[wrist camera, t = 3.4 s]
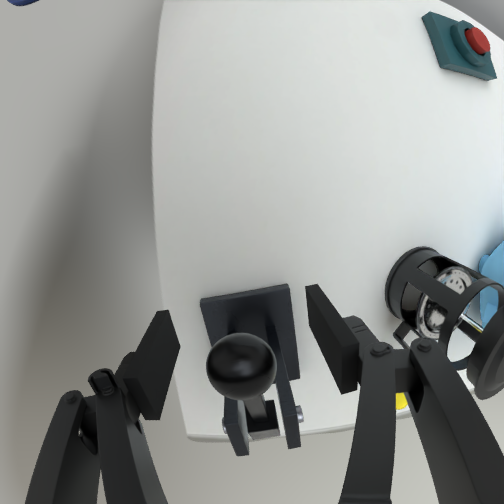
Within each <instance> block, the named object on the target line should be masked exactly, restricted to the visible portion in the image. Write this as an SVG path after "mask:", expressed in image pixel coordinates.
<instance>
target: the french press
mask: <svg viewBox="0 0 504 504" xmlns="http://www.w3.org/2000/svg"><path fill="white" fill-rule="evenodd" d="M428 260H432V261H433V262H434V263H435V265H436V267H437V270H438V273H437V274H436V275H435V276H433V277H431V276H430V275H428V274H426V273H424V272H423V271H421V270H419V269H418V268H419V267H420V266H421V265H422V264H423V263H425V262H426V261H428ZM471 277H473V278H475V279H477V281H475V282H472V279H471ZM407 283H410V284H411V285H413V286H414V287H416V288H417V289H419V290H420V291H421V292H422V293H421V296H420V298H419V301H418V304H417V309H416V310H414V311H407V310H404V309H402V297H403V294H404V290H405V288H406V285H407ZM488 286H490V287H492V288H494V289H495V290H497V291H498V308H497V312H496V313H495V314H494V315H493V316H492V318H491V319H490V321H489V322H488V323H487V325H486V326H485V328H483V327H481V326H480V325H479V324H477V323H476V322H475V321H473V320H472V319H471V318H469V317H468V316H466V313H467V311H468V309H469V306H470V303H471V300H472V299H473V298H474V297H475V296H476V295H477V294H478V293H479V292H480V291H481V290H482V289H484V288H486V287H488ZM385 299H386V303H387V307H388V308H389V310H390V312H391V313H392V314H393V315H394V316H395V317H397V318H399V319H401V320H402V321H403V322H402V323H401V324H400V325H399V327H398V328H397V329H396V330H395V332H394V333H393V336H394V338H395V339H396V340H397V341H398V342H399V343H400V344H401V345H402V347H403V348H404V349H408V348H410V347H409V346H408V345H407V344H406V342H405V341H404V340H403V339H404V337H405V336H406V335H407V334H408V332H409V331H410V330H412V331H413V332H414V333H415V334H416V335H418V336H419V337H428V338H432V339H434V340H438V344H439V345H440V347H441V348H442V350H443V351H444V353H445V354H446V356H447V349H448V344H449V340H450V337H451V334H452V332H453V331H454V330H455V329H456V328H458V329H460V330H461V331H462V332H463V333H465V334H466V335H467V336H468V337H470V338H471V339H472V340H473V341H474V342H476V343H475V346H474V348H473V350H472V352H471V354H470V355H469V356H467V357H465V358H464V359H462V360H459V361H456V362H451V363H452V365H453V366H454V368H455V369H456V370H458V371H459V370H463V369H466V368H467V378H468V380H469V381H470V382H471V383H472V384H473V385H474V386H475V388H474V391H475V395H476V396H477V397H478V399H481V400H484V399H488V398H490V397H492V396H494V395H495V394H497V393H498V392H499V391H501V390H502V389H503V388H504V287H503V285H501V284H499V283H498V282H496V281H494V280H492V279H490V278H488V277H486V276H484V275H482V274H480V273H478V272H476V271H474V270H472V269H470V268H468V267H466V266H464V265H462V264H459V263H457V262H455V261H453V260H451V259H449V258H447V257H445V256H443V255H441V254H439V253H438V252H437V251H436V250H434V249H432V248H430V247H417V248H414V249H411V250H410V251H408V252H406V253H405V254H404V255H403V256H402V257H400V259H399V260H398V261H397V262H396V263H395V265H394V267H393V268H392V270H391V272H390V274H389V277H388V279H387V283H386V289H385ZM415 329H416V330H418V331H419V332H418V331H416V330H415Z"/></svg>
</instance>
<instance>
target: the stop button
mask: <svg viewBox="0 0 504 504" xmlns="http://www.w3.org/2000/svg"><path fill="white" fill-rule="evenodd" d="M465 37H466V39H467V42H468V43H469V45H470V46H471V48H472V49H473V50H474V51H475V52H476V53H477V54H483V53H486V52H489V51H490V44H489V42H488V39H487V38H486V36H485V35H484V34H483V32H482V31H481V30H479V29H478V28H476V27H473V28H471V29H469V30H467V31H465Z"/></svg>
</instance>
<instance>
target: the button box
mask: <svg viewBox="0 0 504 504" xmlns="http://www.w3.org/2000/svg"><path fill="white" fill-rule="evenodd" d="M422 19H423V22H424V24H425V26H426V29H427V31H428V34H429V36H430V39H431V42H432V44H433V47H434V50H435V53H436V56H437V59H438V62H439V65H440V68H445V69H449V70H453V71H457V72H461V73H464V74H468V75H471V76H475V77H478V78H481V79H484V80H487V81H488V80H492V79H497V76H496V73H495V70H494V67H493V64H492V61H491V53H490V51H489V52H486V53H483V54H477V53H476V52H475V51H474V50H473V49H472V48H471V46H470V45H469V43H468V42H467V39H466V37H465V31H467V30H469V29H471V28H473V27H474V26H473V25H472V24H471V23H468V22H466V21H464V20H462V21H460V22H458V21H455V20H453V19H450V18H447V17H445V16H442V15H439V14H436V13H433V12H428V13H427V14H426V15H424V16H423V17H422Z"/></svg>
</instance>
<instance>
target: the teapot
mask: <svg viewBox="0 0 504 504" xmlns="http://www.w3.org/2000/svg"><path fill="white" fill-rule="evenodd" d="M479 271H480V273H481V274H482V275H484V276H486V277H488V278H490V279H492V280H494V281H496V282H498V283H499V284H501V285H503V287H504V241H503V242H502V243H501V244H500V245H499V246H498V247H497V248H496V249H495V250H494V251H493V253H492V254H491V255H490V256H489V255H487V254H486V255H484V256H483V257H482V258H481V260H480V263H479ZM497 308H498V291H497V290H495V289H494V288H492V287H490V286H488V287H486V288H484V289H482V290H481V291H480V313H481V320H482V327H483V328H485V326H486V325H487V323H488V322H489V321H490V319H491V318H492V316H493V315H494V314H495V313H496V312H497Z"/></svg>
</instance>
